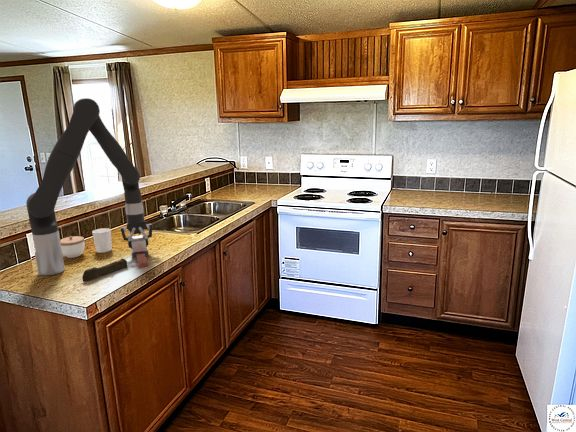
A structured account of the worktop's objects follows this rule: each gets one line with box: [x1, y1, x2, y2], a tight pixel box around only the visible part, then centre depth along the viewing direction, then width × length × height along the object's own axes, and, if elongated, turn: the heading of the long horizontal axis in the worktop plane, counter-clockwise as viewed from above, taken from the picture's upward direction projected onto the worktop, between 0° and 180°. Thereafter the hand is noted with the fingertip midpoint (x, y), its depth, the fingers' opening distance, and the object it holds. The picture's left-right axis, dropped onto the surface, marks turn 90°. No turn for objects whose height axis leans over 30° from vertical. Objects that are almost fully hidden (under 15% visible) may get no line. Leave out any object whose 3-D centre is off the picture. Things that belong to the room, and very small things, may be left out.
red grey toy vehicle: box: [130, 246, 149, 269], centre depth 178 cm, size 7×21×5 cm, turn 25°
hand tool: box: [82, 258, 128, 283], centre depth 163 cm, size 19×4×5 cm, turn 145°
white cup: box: [91, 227, 113, 254], centre depth 190 cm, size 8×8×10 cm
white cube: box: [131, 234, 148, 253], centre depth 184 cm, size 6×6×6 cm
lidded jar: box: [60, 235, 86, 259], centre depth 184 cm, size 11×11×9 cm
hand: (138, 247), depth 184 cm, fingers closed on white cube, 6 cm apart
